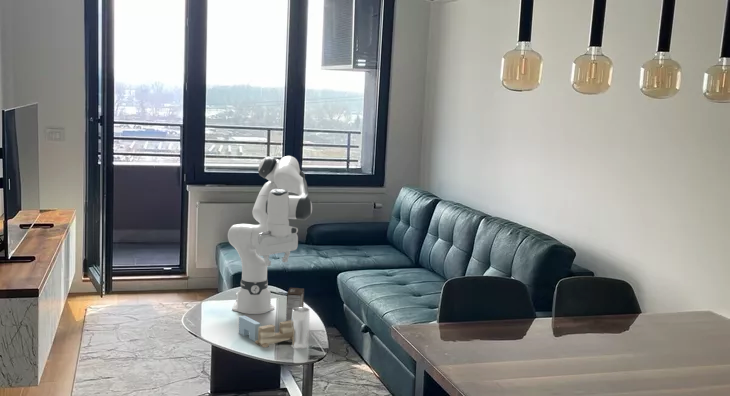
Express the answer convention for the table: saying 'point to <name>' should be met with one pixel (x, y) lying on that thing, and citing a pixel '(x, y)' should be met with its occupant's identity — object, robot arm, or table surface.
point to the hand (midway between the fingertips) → (276, 263)
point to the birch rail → (274, 334)
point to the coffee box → (294, 300)
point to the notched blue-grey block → (249, 327)
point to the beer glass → (300, 327)
